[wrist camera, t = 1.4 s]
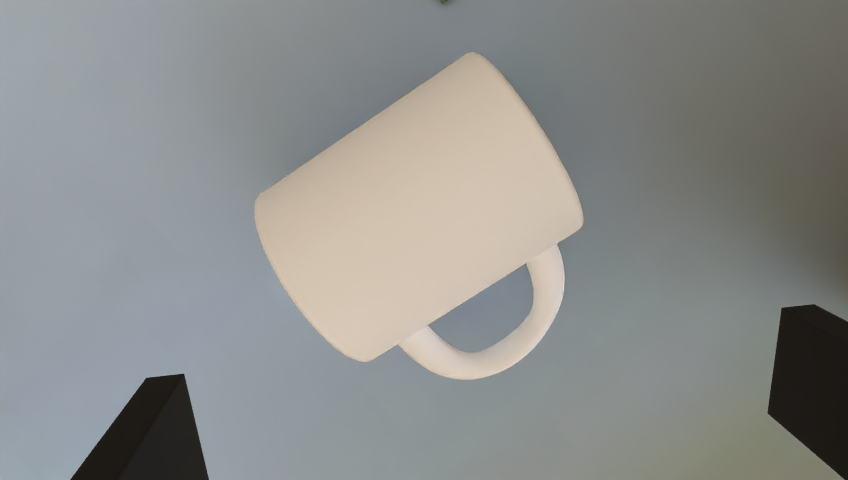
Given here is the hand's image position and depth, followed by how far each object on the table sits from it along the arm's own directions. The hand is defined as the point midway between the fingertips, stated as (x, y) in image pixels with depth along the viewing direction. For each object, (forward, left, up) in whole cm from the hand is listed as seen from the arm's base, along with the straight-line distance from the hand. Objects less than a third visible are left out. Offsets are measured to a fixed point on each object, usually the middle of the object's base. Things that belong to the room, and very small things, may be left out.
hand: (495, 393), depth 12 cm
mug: (0, 0, -15) cm, 15 cm away
